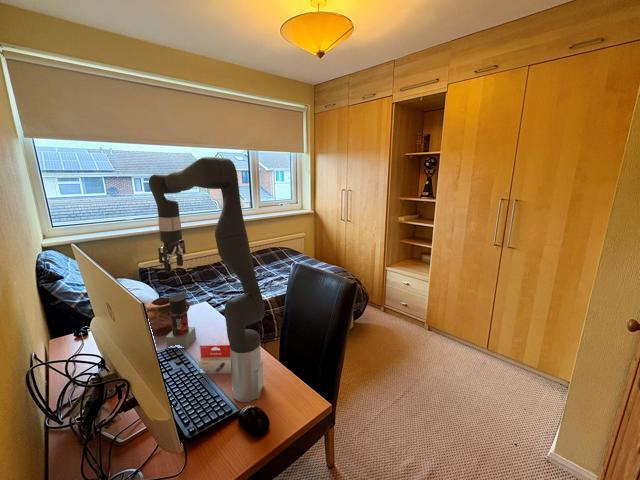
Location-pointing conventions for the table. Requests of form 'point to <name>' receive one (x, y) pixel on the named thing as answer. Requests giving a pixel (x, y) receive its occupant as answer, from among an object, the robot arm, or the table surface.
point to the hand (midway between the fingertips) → (174, 269)
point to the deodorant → (179, 315)
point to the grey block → (181, 338)
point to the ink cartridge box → (215, 359)
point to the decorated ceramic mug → (160, 315)
